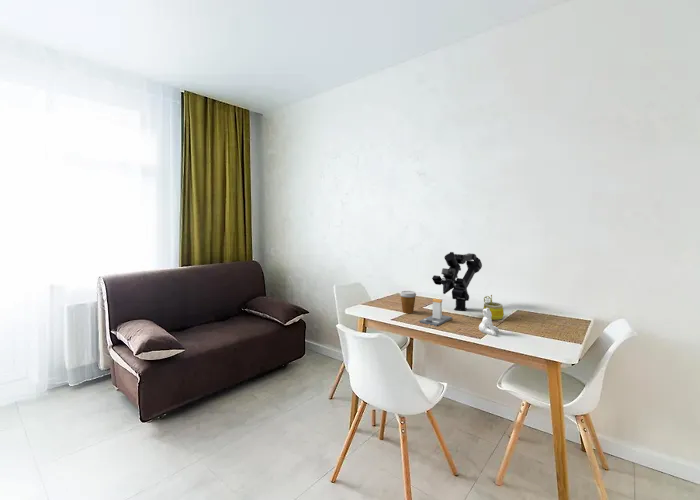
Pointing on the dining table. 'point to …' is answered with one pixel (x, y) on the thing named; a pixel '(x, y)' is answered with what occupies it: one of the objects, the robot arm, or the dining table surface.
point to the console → (435, 320)
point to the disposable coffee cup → (408, 301)
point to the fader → (437, 308)
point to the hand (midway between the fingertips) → (443, 293)
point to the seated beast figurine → (488, 323)
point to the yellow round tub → (494, 309)
